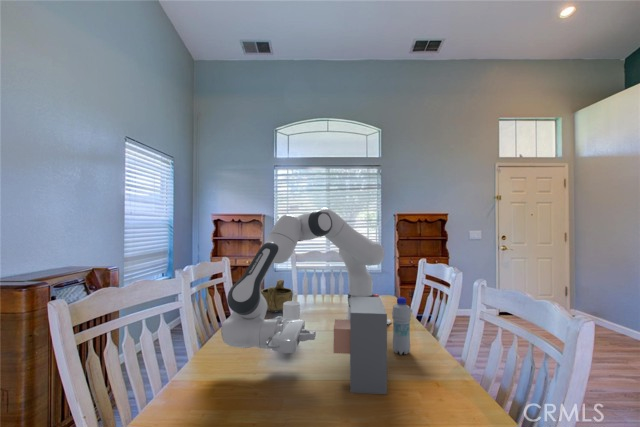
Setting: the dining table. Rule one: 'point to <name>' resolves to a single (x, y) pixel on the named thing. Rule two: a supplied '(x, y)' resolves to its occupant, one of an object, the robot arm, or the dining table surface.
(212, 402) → the dining table surface
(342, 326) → the pink rectangular block
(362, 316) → the gray rectangular box
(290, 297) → the olive brown basket
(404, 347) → the bottle
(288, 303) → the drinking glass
